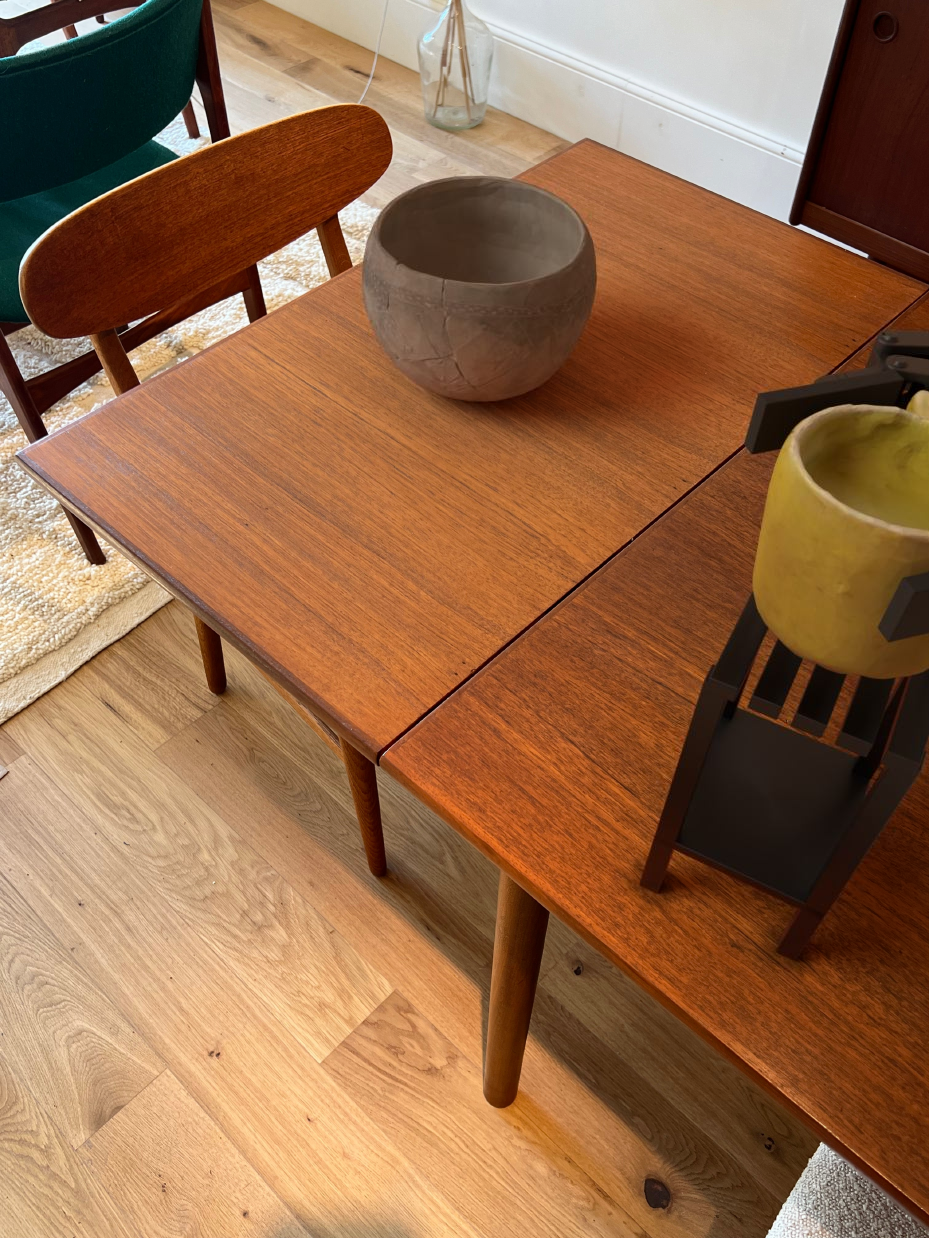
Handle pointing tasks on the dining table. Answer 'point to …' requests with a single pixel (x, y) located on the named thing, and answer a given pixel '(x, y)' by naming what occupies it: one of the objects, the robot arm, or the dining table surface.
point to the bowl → (478, 285)
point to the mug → (847, 536)
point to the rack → (788, 778)
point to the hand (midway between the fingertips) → (818, 509)
